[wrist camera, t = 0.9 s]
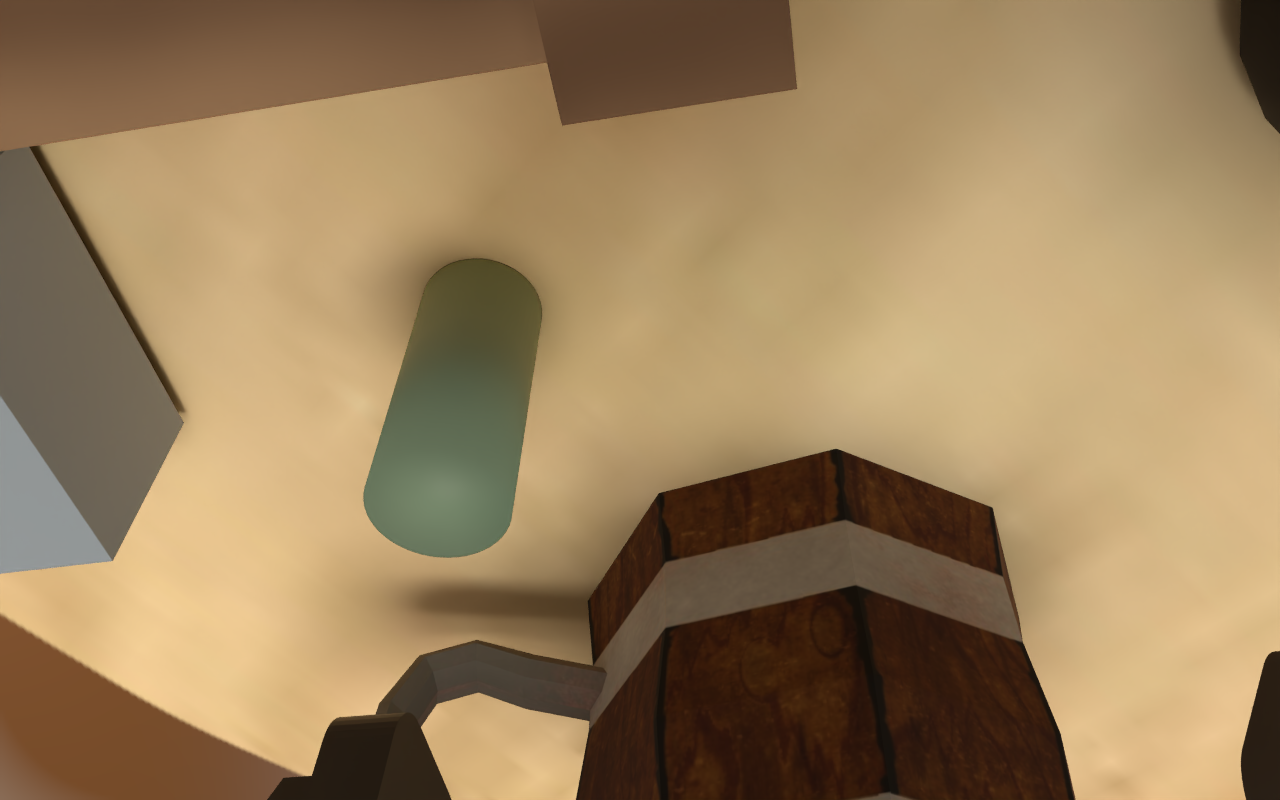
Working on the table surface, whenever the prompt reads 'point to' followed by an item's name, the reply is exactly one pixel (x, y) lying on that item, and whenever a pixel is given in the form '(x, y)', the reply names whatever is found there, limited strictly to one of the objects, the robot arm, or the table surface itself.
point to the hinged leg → (67, 390)
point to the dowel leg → (458, 413)
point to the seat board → (368, 55)
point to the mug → (791, 650)
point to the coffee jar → (1262, 53)
